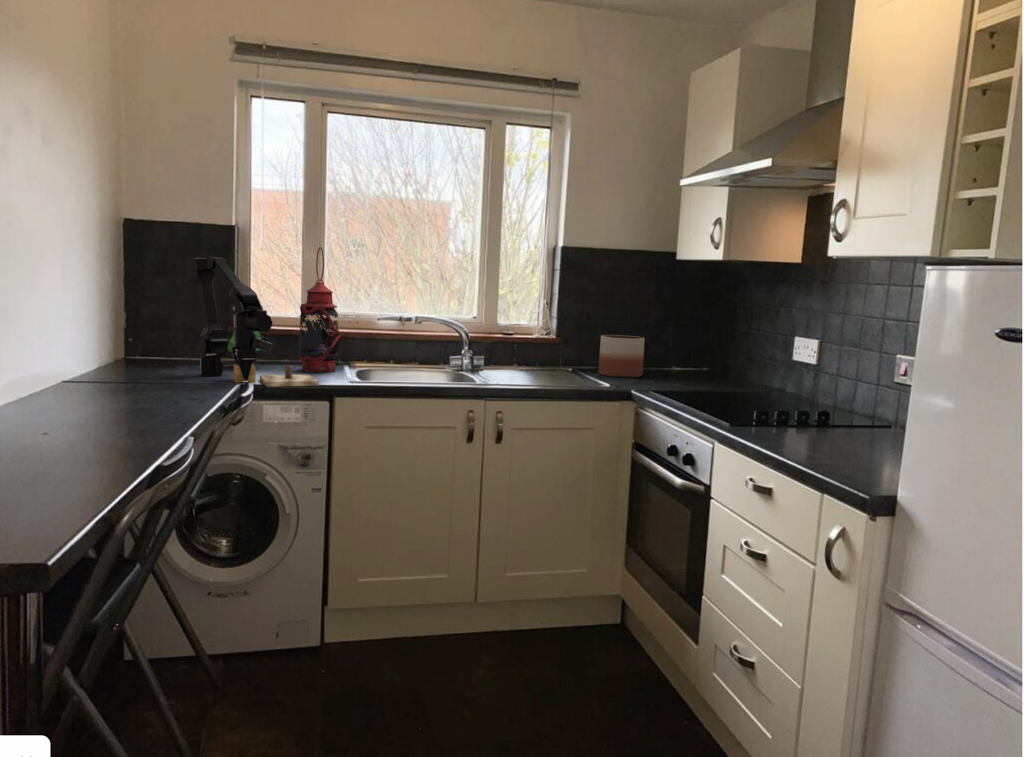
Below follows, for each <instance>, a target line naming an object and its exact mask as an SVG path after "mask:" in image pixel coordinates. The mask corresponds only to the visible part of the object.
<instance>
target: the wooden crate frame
mask: <svg viewBox="0 0 1024 757" xmlns="http://www.w3.org/2000/svg"><path fill="white" fill-rule="evenodd" d="M256 370H257V369H256V366H255V364H254V365H251V369H250V373H249V377H248V380H244V378H243V375H242V372H241V370H240V367H239V365H237V364H234V365H233V381H234V382H235V383H236V382H243V381H248V382H247V383H256V381H257V380H256V375H257V374H256V373H257V372H256Z"/></svg>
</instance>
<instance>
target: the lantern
mask: <svg viewBox="0 0 1024 757" xmlns="http://www.w3.org/2000/svg"><path fill="white" fill-rule="evenodd" d="M320 251H321V254H322V255H321V256H322V271H321V276H320V277H319V270H318V264H319V262H318V261H319V253H320ZM324 268H325V256H324V249H323V248H322V247H321V246H320V247H318V249H317V253H316V276H317V280H316V282H315V284H314V285H313V286H312V287H311V288H309V289H307V290H305V292H306V293H307V294H306V302H305V303H301V304H300V306H299V310H300V315H299V316H300V318H299V328H300V329H299V342H298V352H299V357H300V358H299V359H300V361H301V362H302V365H301V366H302V368H301V369H302V371H303V370H304V371H303V372H305V371H306V372H305V373H313V372H320V373H334V372H336V360H335V359H336V358H337V357H338V356H339V354H340V353H339V350H337V349H339V339H340V337H341V331H340V330H339V323H338V319H337V318H339V314H338V312H337V310H336V308H338V306H337V305H336V304H334V302H333V293H334V292H333V291H332V290H331V289H329V288H328V287H327V286H326V285H325V282H324V281H323V277H324V271H325V270H324ZM310 316H311V317H316V318H314V319H311V320H310ZM331 317H332V318H335V319H336V320H332V318H331ZM304 330H305V331H306V332H305V331H304ZM328 332H329V333H328ZM333 332H334V333H335V334H333V335H332V333H333ZM332 340H333V341H332ZM325 346H326V347H325ZM320 373H319V374H320Z"/></svg>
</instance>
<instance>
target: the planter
mask: <svg viewBox="0 0 1024 757" xmlns="http://www.w3.org/2000/svg"><path fill="white" fill-rule="evenodd" d="M599 345H600V346H599V359H598V373H599V374H600V375H602V376H606V377H611V378H627V379H628V378H629V379H630V378H632V379H633V378H634V379H635V378H639V377H641V376H643V372H644V357H645V355H644V354H645V337H641V336H635V335H634V336H633V335H623V334H621V335H620V334H602V335H600V344H599Z"/></svg>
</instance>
